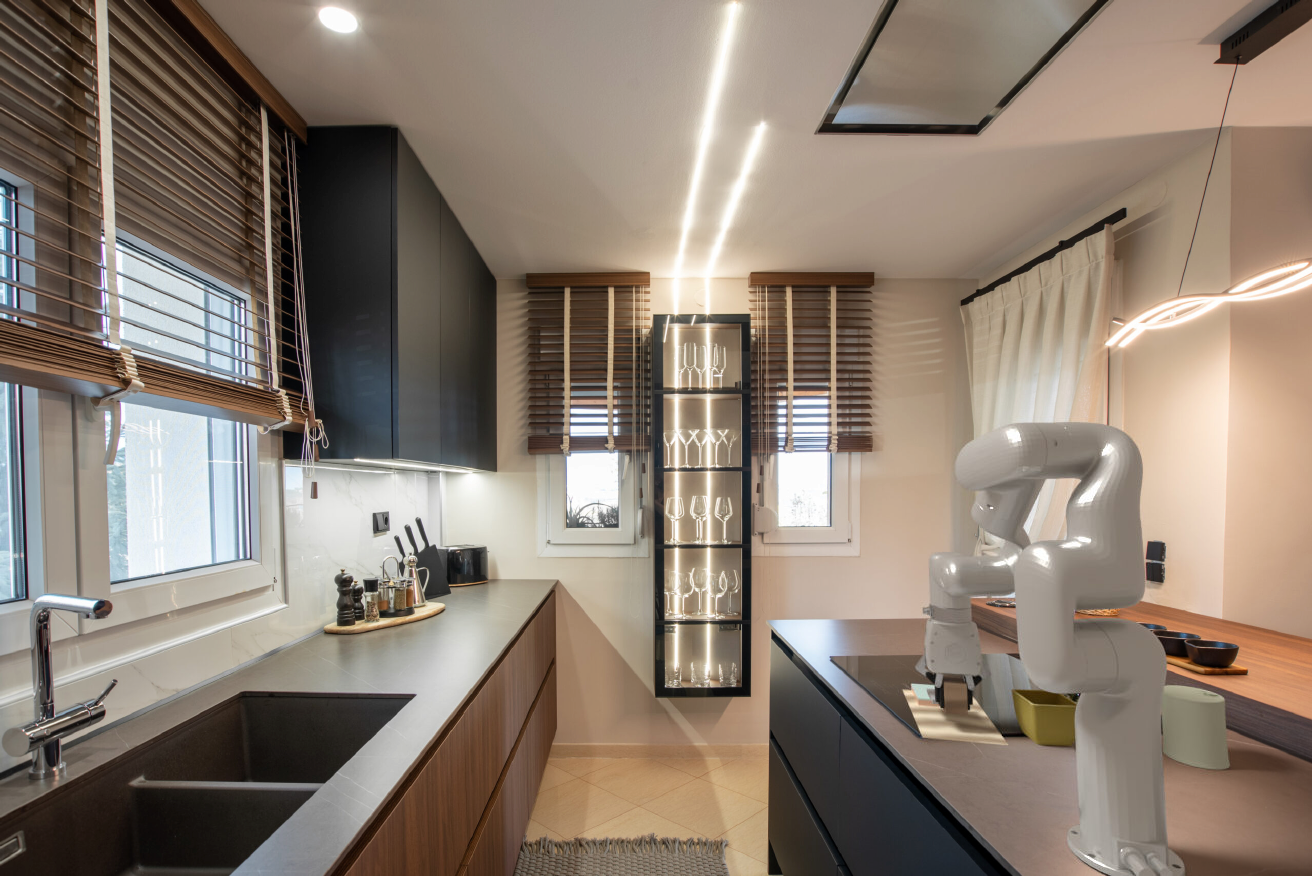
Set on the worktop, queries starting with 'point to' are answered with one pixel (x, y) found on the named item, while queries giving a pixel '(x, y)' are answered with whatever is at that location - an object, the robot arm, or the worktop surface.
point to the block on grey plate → (952, 695)
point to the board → (954, 723)
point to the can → (1194, 727)
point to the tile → (922, 694)
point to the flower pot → (1045, 716)
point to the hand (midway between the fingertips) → (953, 706)
